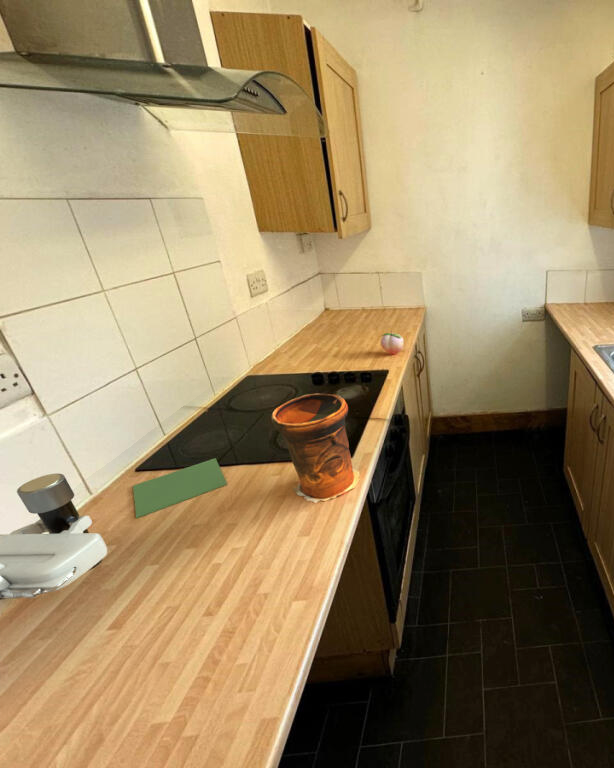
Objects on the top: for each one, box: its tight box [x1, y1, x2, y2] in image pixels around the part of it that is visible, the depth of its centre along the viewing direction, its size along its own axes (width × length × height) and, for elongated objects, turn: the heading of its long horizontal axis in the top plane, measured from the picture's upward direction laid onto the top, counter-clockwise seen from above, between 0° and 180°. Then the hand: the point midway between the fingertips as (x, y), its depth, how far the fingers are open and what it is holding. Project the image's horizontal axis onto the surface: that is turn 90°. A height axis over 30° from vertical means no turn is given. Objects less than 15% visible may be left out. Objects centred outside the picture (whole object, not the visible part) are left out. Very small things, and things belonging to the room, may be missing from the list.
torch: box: [16, 473, 104, 572], centre depth 63 cm, size 5×5×16 cm
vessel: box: [270, 392, 361, 504], centre depth 90 cm, size 14×14×20 cm
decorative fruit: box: [380, 332, 405, 355], centre depth 170 cm, size 9×8×10 cm
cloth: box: [132, 457, 228, 519], centre depth 94 cm, size 16×14×1 cm
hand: (69, 519), depth 64 cm, fingers closed on torch, 3 cm apart
